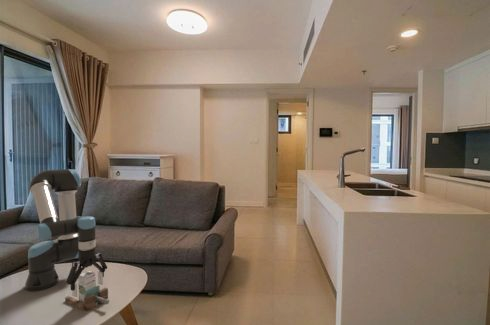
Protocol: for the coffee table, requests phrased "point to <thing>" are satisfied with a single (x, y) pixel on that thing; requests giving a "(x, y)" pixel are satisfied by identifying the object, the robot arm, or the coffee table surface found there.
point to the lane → (88, 300)
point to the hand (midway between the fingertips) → (88, 289)
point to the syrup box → (86, 283)
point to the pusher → (96, 294)
